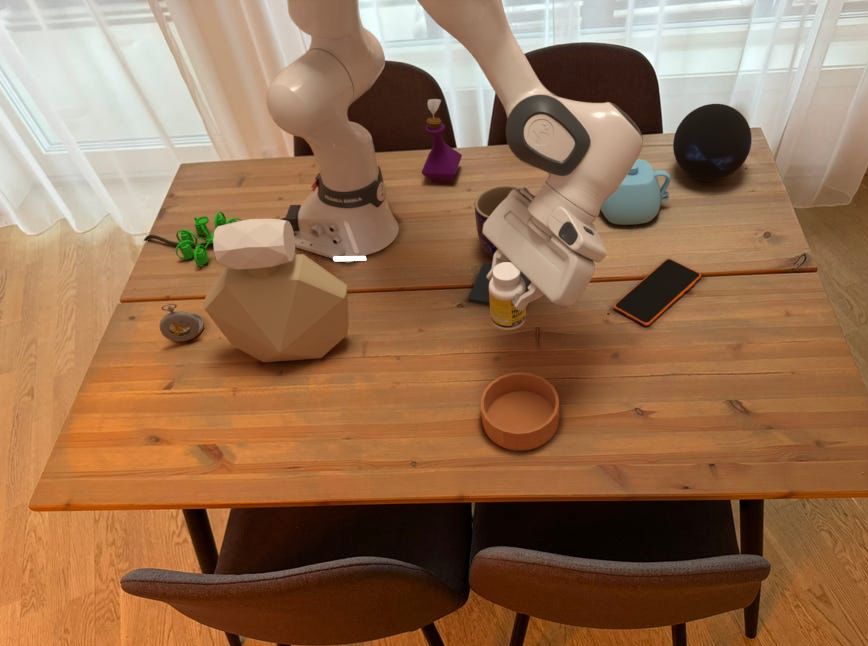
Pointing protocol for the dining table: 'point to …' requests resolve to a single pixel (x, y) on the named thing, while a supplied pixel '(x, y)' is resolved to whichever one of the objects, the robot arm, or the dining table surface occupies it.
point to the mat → (487, 286)
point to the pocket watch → (180, 325)
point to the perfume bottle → (439, 150)
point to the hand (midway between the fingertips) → (503, 294)
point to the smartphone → (657, 292)
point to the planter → (489, 211)
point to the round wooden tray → (520, 411)
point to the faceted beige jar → (274, 294)
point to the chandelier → (201, 228)
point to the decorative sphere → (712, 142)
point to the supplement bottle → (506, 296)
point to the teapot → (637, 196)
